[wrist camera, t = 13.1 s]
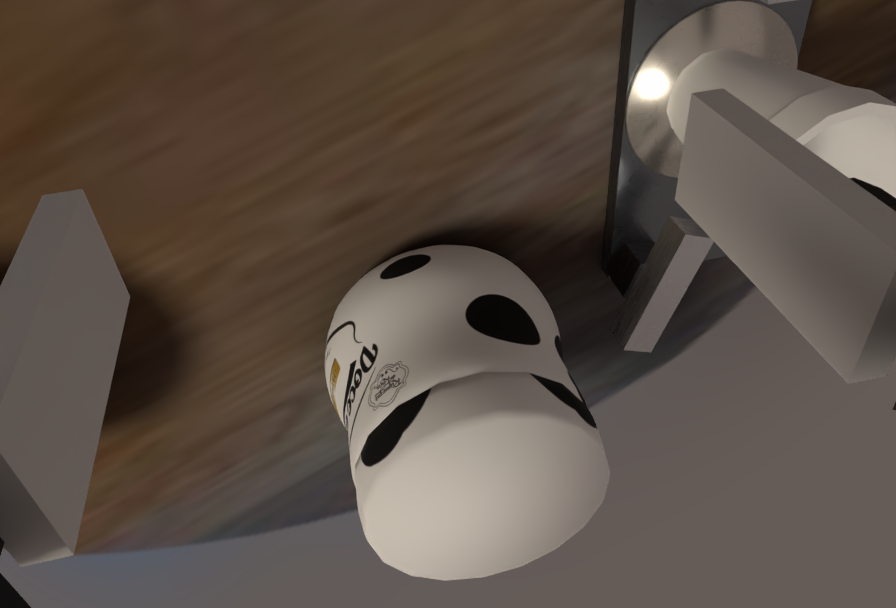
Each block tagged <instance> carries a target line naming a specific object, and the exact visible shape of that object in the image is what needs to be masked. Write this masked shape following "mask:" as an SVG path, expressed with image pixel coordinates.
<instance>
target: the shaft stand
mask: <svg viewBox="0 0 896 608" xmlns="http://www.w3.org/2000/svg"><path fill="white" fill-rule="evenodd" d="M811 4H812V0H625V5H624V16H623V27H622V39H621V50H620V61H619V73H618V84H617V95H616V107H615V118H614V129H613V140H612V152H611V163H610V174H609V186H608V197H607V208H606V220H605V231H604V242H603V254H602V265H601V268H602V270H603V271H604V273H605V274H606V276H607V277H608V279H610V278H611V280H612V281H613V283H614V284H615V286H616V287H617V288H618V290H619V291H620V293H621V294H622V296H623V297H626V300H625V302H624V304H623V306H622V308H621V310H620V312H619V314H618V316H617V318H616V320H615V322H614V324H613V326H612V328H611V331H612V333H613V334H614V336H615V337H616V339H617V341H618V342H619V344H620V345H621V347H622V349H623V350H629V351H641V352H651V351H652V350H653V348H654V346H655V344H656V343H657V341H658V339H659V337H660V336H661V334H662V332H663V330H664V329H665V327H666V325H667V323H668V322H669V320H670V318H671V316H672V315H673V313H674V311H675V309H676V308H677V306H678V304H679V302H680V300H681V299H682V297H683V295H684V293H685V292H686V290H687V288H688V286H689V285H690V283H691V281H692V279H693V278H694V276H695V274H696V272H697V271H698V269H699V267H700V265H701V264H702V262H703V261H704V260H709V259H715V258H720V257H725V256H727V255H726V254H725V253H724V252H723V250H722V249H721V248H720V247H719V246H718V245H717V244H716V243H715V242H714V241H713V240H712V239H711V238H710V237H709V236H708V235H707V234H706V232H705V231H704V230H703V229H702V228H701V227H700V226H699V225H698V224H697V223H696V222H695V221H694V220H693V219H692V218H691V217H690V216H689V214H688V213H687V212H686V211H685V210H684V209H683V208H682V207H681V206H680V205H679V204H678V203H677V202H676V201H675V195H676V189H677V183H678V176H679V170H680V163H681V157H682V151H683V144H682V142H681V141H680V140H679V138H678V137H677V135H676V134H675V132H674V130H673V129H672V128H671V124H670V121H669V117H668V114H667V105H668V100H669V95H670V90H671V88H672V87H673V85H674V83H675V82H676V80H677V79H678V77H679V75H680V74H681V72H682V71H683V69H684V68H686V67H687V66H688V65H689V64H691V63H692V62H693V61H694V60H696V59H697V58H698V57H699V56H701V55H702V54H705V53H708V52H711V51H714V50H717V49H720V48H728V49H733V50H739V51H742V52H746V53H750V54H753V55H756V56H759V57H762V58H765V59H768V60H771V61H774V62H776V63H779V64H782V65H785V66H788V67H791V68H794V69H797V63H798V56H799V52H800V48H801V44H802V40H803V36H804V32H805V28H806V24H807V20H808V16H809V12H810V8H811Z"/></svg>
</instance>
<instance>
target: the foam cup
mask: <svg viewBox="0 0 896 608" xmlns="http://www.w3.org/2000/svg"><path fill="white" fill-rule="evenodd" d="M721 88H724V89H725V90H726V91H728V92H729V93H731V94H732V95H733V96H735V97H736V98H738V99H739V100H740V101H742V102H743V103H745V104H746V105H747V106H749V107H750V108H752V109H753V110H754V111H756V112H757V113H759V114H760V115H761V116H763V117H764V118H766V119H767V120H768V121H770V122H771V123H773V124H774V125H775V126H777V127H778V128H780V129H781V130H782V131H784V132H785V133H787V134H788V135H789V136H791V137H792V138H794V139H795V140H796V141H798V142H799V143H801V144H802V145H803V146H805V147H806V148H808V149H809V150H810V151H812V152H813V153H815V154H816V155H817V156H819V157H820V158H822V159H823V160H824V161H826V162H827V163H828V164H830V165H831V166H833V167H834V168H835V169H837V170H838V171H840V172H841V173H842V174H844V175H845V176H847V177H848V178H857V179H859V180H862V181H864V182H867V183H869V184H872V185H874V186H877V187H879V188H882V189H883V190H885V191H886V192H887V193H889V194H890V195H892V196H893V197H895V198H896V103H894V102H892V101H890V100H888V99H887V98H885V97H883V96H881V95H879V94H878V93H876V92H874V91H872V90H868V89H862V88H856V87H850V86H845V85H842V84H839V83H836V82H833V81H830V80H827V79H824V78H821V77H818V76H815V75H812V74H809V73H806V72H803V71H800V70H797V69H794V68H791V67H788V66H785V65H782V64H779V63H776V62H774V61H771V60H768V59H765V58H762V57H759V56H756V55H753V54H750V53H746V52H742V51H739V50H733V49H728V48H720V49H717V50H714V51H711V52H708V53H705V54H702V55H701V56H699V57H698V58H697V59H696V60H694V61H693V62H692V63H691V64H689V65H688V66H687V67H686V68H684V69H683V71H682V72H681V74H680V75H679V77H678V79H677V80H676V82H675V83H674V85H673V87H672V88H671V90H670V95H669V100H668V105H667V114H668V117H669V121H670V124H671V128H672V129H673V130H674V132H675V134H676V135H677V137H678V138H679V140H680V141H681V142H682V144H684V138H685V132H686V125H687V119H688V113H689V106H690V100H691V94H692V93H696V92H702V91H708V90H715V89H721Z"/></svg>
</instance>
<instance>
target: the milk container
mask: <svg viewBox="0 0 896 608" xmlns="http://www.w3.org/2000/svg"><path fill="white" fill-rule="evenodd" d="M325 374H326V381H327V387H328V390H329V394H330V397H331V400H332V403H333V405H334V407H335V409H336V412H337V414H338V416H339V417H340V419H341V421H342V423H343V425H344V426H345V428H346V430H347V434H348V440H349V451H350V462H351V470H352V477H353V481H354V484H355V487H356V493H357V505H358V512H359V515H360V519H361V523H362V526H363V530H364V533H365V536H366V538H367V541H368V542H369V544H370V545H371V546H372V548H373V549H374V550H375V551H376V553H377V554H378V555H379V557H380V558H381V559H382V561H383V562H384V563H386V564H388V565H390V566H392V567H395V568H396V569H398V570H401V571H403V572H405V573H407V574H409V575H411V576H417V577H424V578H431V579H438V580H457V579H467V578H480V577H486V576H489V575H493V574H496V573H499V572H503V571H507V570H510V569H514V568H517V567H521V566H523V565H525V564H527V563H529V562H531V561H533V560H535V559H537V558H539V557H541V556H543V555H545V554H547V553H549V552H551V551H553V550H554V549H557V548H558V547H559V546H560V545H562V544H563V543H564V542H565V541H567V540H568V539H569V538H570V537H572V536H573V535H574V534H576V533H577V532H578V531H579V530H581V529H582V528H583V527H584V526H585V525H586V524H587V522H588V521H589V520H590V518H591V517H592V516H593V514H594V513H595V511H596V510H597V509H598V507H599V506H600V505H601V503H602V502H603V501H604V497H605V493H606V489H607V485H608V482H609V478H610V470H609V466H608V462H607V458H606V455H605V451H604V448H603V444H602V441H601V438H600V435H599V432H598V429H597V427H596V424H595V421H594V419H593V417H592V415H591V413H590V411H589V410H588V408H587V406H586V403H585V401H584V399H583V397H582V395H581V393H580V391H579V390H578V388H577V386H576V384H575V382H574V381H573V379H572V377H571V376H570V374H569V372H568V370H567V368H566V366H565V364H564V362H563V356H562V348H561V340H560V334H559V330H558V326H557V323H556V320H555V317H554V315H553V312H552V310H551V308H550V306H549V304H548V302H547V301H546V299H545V297H544V296H543V294H542V293H541V292H540V290H539V289H538V288H537V286H536V285H535V284H534V283H533V282H532V281H531V279H530V278H529V277H528V276H527V275H526V274H525V273H523V272H522V271H521V270H520V269H519V268H518V267H517V266H516V265H514V264H513V263H512V262H510V261H509V260H507V259H505V258H504V257H502V256H500V255H497V254H495V253H493V252H490V251H487V250H484V249H480V248H477V247H473V246H466V245H449V244H441V245H432V246H426V247H422V248H418V249H414V250H410V251H407V252H403V253H400V254H398V255H396V256H394V257H392V258H390V259H388V260H386V261H385V262H383V263H381V264H380V265H378V266H376V267H374V268H373V269H371V270H370V271H369V272H367V273H366V274H365V275H364V276H362V277H361V278H360V279H359V280H358V282H357V283H356V284H355V285H354V286H353V287H352V288H351V289H350V290H349V291H348V293H347V294H346V295H345V296H344V298H343V299H342V301H341V302H340V304H339V305H338V307H337V309H336V311H335V313H334V316H333V318H332V320H331V324H330V327H329V332H328V337H327V342H326V350H325Z"/></svg>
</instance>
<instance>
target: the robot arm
mask: <svg viewBox="0 0 896 608" xmlns="http://www.w3.org/2000/svg"><path fill="white" fill-rule="evenodd" d="M675 201H676V202H677V203H678V204H679V205H680V206H681V207H682V208H683V209H684V210H685V211H686V212H687V213H688V214H689V216H690V217H691V218H692V219H693V220H694V221H695V222H696V223H697V224H698V225H699V226H700V227H701V228H702V229H703V230H704V231H705V232H706V234H707V235H708V236H709V237H710V238H711V239H712V240H713V241H714V242H715V243H716V244H717V245H718V246H719V247H720V248H721V249H722V250H723V252H724V253H725V254H726V255H727V256H728V257H729V258H730V259H731V260H732V261H733V262H734V263H735V264H736V265H737V266H738V267H739V269H740V270H741V271H742V272H743V273H744V274H745V275H746V276H747V277H748V278H749V279H750V280H751V281H752V282H753V283H754V284H755V285H756V287H757V288H758V289H759V290H760V291H761V292H762V293H763V294H764V295H765V296H766V297H767V298H768V299H769V300H770V301H771V302H772V303H773V305H774V306H775V307H776V308H777V309H778V310H779V311H780V312H781V313H782V314H783V315H784V316H785V317H786V318H787V319H788V320H789V321H790V322H791V324H792V325H793V326H794V327H796V329H797V330H798V331H799V332H800V333H801V334H802V335H803V336H804V337H805V338H806V340H807V341H808V342H809V343H810V344H811V345H812V346H813V347H814V348H815V349H816V350H817V351H818V352H819V353H820V354H821V355H822V356H823V358H824V359H825V360H826V361H827V362H828V363H829V364H830V365H831V366H832V367H833V368H834V369H835V370H836V371H837V372H838V373H839V374H840V376H841V377H842V378H843V379H844V380H845V381H846V382H847V383H848V384H851V383H855V382H859V381H864V380H869V379H873V378H878V377H882V376H887V375H888V372H889V370H890V368H891V366H892V364H893V362H894V360H895V357H896V198H895V197H893V196H892V195H890V194H889V193H887V192H886V191H885V190H883V189H882V188H879V187H877V186H874V185H872V184H869V183H867V182H864V181H862V180H859V179H857V178H848V177H847V176H845V175H844V174H842V173H841V172H840V171H838V170H837V169H835V168H834V167H833V166H831V165H830V164H828V163H827V162H826V161H824V160H823V159H822V158H820V157H819V156H817V155H816V154H815V153H813V152H812V151H810V150H809V149H808V148H806V147H805V146H803V145H802V144H801V143H799V142H798V141H796V140H795V139H794V138H792V137H791V136H789V135H788V134H787V133H785V132H784V131H782V130H781V129H780V128H778V127H777V126H775V125H774V124H773V123H771V122H770V121H768V120H767V119H766V118H764V117H763V116H761V115H760V114H759V113H757V112H756V111H754V110H753V109H752V108H750V107H749V106H747V105H746V104H745V103H743V102H742V101H740V100H739V99H738V98H736V97H735V96H733V95H732V94H731V93H729V92H728V91H726V90H725V89H724V88H721V89H715V90H708V91H702V92H696V93H692V94H691V100H690V106H689V113H688V119H687V125H686V132H685V138H684V144H683V151H682V157H681V163H680V170H679V176H678V183H677V189H676V195H675ZM129 300H130V295H129V293H128V290H127V288H126V286H125V284H124V281H123V279H122V277H121V275H120V272H119V270H118V268H117V266H116V263H115V261H114V259H113V257H112V254H111V252H110V250H109V248H108V245H107V243H106V241H105V239H104V236H103V234H102V232H101V230H100V227H99V225H98V223H97V220H96V218H95V216H94V214H93V211H92V209H91V207H90V205H89V202H88V200H87V198H86V196H85V193H84V191H83V189H79V190H73V191H67V192H60V193H54V194H48V195H42V197H41V200H40V202H39V204H38V206H37V208H36V210H35V213H34V215H33V217H32V219H31V221H30V223H29V225H28V228H27V230H26V232H25V234H24V236H23V238H22V240H21V243H20V245H19V247H18V249H17V251H16V253H15V255H14V258H13V260H12V262H11V264H10V266H9V268H8V270H7V273H6V275H5V277H4V279H3V281H2V283H1V285H0V555H1V552H2V548H3V546H4V547H5V548H6V549H7V550H8V552H9V553H10V554H11V555H12V557H13V558H14V559H15V560H16V561H17V563H18V564H19V565H20V566H21V567H22V566H27V565H31V564H36V563H40V562H45V561H49V560H54V559H58V558H63V557H68V556H72V555H74V551H75V547H76V542H77V537H78V533H79V528H80V524H81V519H82V515H83V510H84V506H85V501H86V496H87V492H88V487H89V483H90V478H91V474H92V469H93V464H94V460H95V455H96V451H97V446H98V442H99V437H100V432H101V428H102V423H103V419H104V414H105V410H106V405H107V401H108V396H109V391H110V387H111V382H112V378H113V373H114V369H115V364H116V359H117V355H118V350H119V346H120V341H121V337H122V332H123V327H124V323H125V318H126V314H127V309H128V305H129ZM893 410H896V403H895V405H894V407H893ZM0 608H31V607H30V606H29V605H28V604H27V602H26V601H25V600H24V599H23V598H22V597H21V596H20V595H19V594H18V592H17V591H16V590H15V589H14V588H13V587H12V586H11V585H10V583H9V582H8V581H7V580H6V579H5V578H4V577H3V576H2V574H1V573H0Z"/></svg>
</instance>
